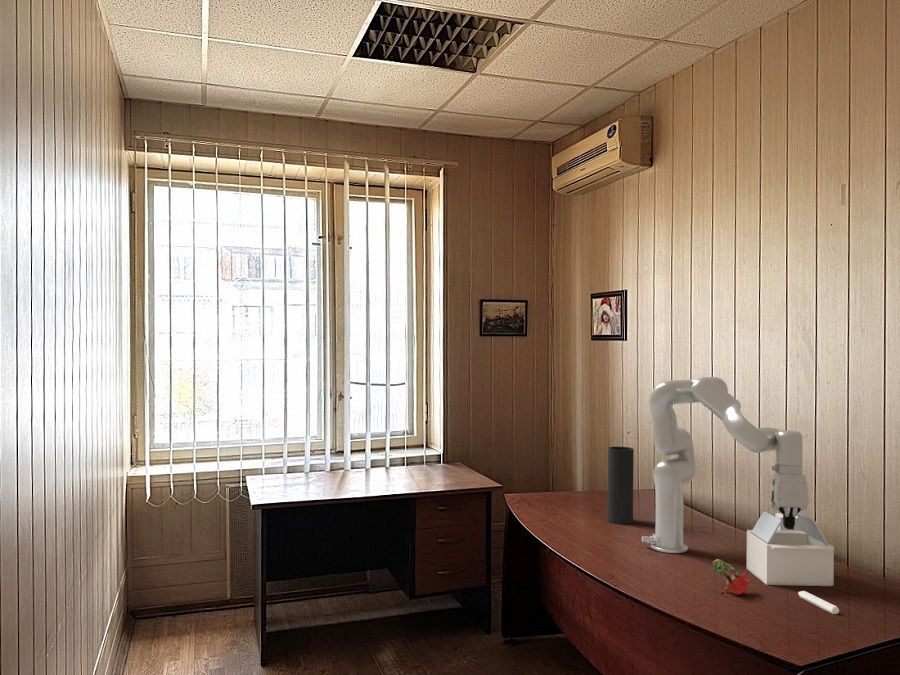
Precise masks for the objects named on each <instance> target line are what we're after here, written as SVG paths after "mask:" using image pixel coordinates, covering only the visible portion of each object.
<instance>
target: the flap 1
mask: <svg viewBox="0 0 900 675" xmlns="http://www.w3.org/2000/svg"><path fill="white" fill-rule="evenodd" d="M781 523H782V521H781V520H779V519H778V518H776V517H775V515H772V514H771V513H769V512H767V511H765V510H763V512H762V513H761V514H760V517H759V519H758V520H757V522H756V523H755V525H754V526H753V529H751V530H752V533H753V534H755V535H756V536H758V537H760V538H761V539H763V540H764V541H766V542H767V543H770V541H771V539H772V538H773V536H774V534H775V533H776V531H777V529H778V528H779V526H780V524H781Z"/></svg>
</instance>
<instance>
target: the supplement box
mask: <svg viewBox="0 0 900 675" xmlns="http://www.w3.org/2000/svg"><path fill="white" fill-rule="evenodd" d="M774 517H776V518H778V519H779V520H781V521H782V523H781V524H780V526H779V528H778V529H777V530H785V531H803V530H802V529H803V525H802V524H801V522H800V520H799V518H798V517H797V516H796V517H795V526H794V529H793V530H792V529H787V528H785V527H784V525H783V514H782V513H781V512H780V513H779V512H778V513H777V512H775V515H774Z"/></svg>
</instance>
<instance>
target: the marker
mask: <svg viewBox="0 0 900 675" xmlns="http://www.w3.org/2000/svg"><path fill="white" fill-rule="evenodd" d="M796 593H797V594H798V596H799V598H801V599H803V600H805V601H807V602H808V603H810V604H813V605H814V606H816V607H818V608H821V609H822V610H824V611H827V613H828V612H829V613H830V614H832V615H837V614H839V612H840V608H838V606H837V605H834V604H832V603H830V602H828V601H826V600H824V599H822V598H820V597H817V596H816V595H814V594H812V593H809V592H808V591H805V590H801V591H796Z"/></svg>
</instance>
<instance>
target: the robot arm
mask: <svg viewBox="0 0 900 675" xmlns="http://www.w3.org/2000/svg"><path fill="white" fill-rule="evenodd" d="M728 388H729V387H728V385H727V383H726V382H725V381H724V380H723V379H722V378H721V377H718V376H704V377H700V378H695V379H693V378H692V379H674V380H671V379H670V380H665V381H663V382H661V383H659V384H657V385H656V386H655V387H654V388H653V389H652V391H651V393H650V396H649V407H650V413H651V420H652V433H653V444H654V448H655V450H656V453H658V454H659V455H661V456H666V457H667V456H669V457H670V458H668V459H663V460H661V461H659V462H658V463H657V464H656V465H655V467H654V468H653V473H652V476H653V484H654V489H655V518H654V519H655V533H652V535H650V536H647V535H646V536H645V535H644V536H643V535H642V536H641V542H643V543H646V544H650V548H651V549H652V550H655V551H658V552H662V553H668V554H669V553H670V554H680V553H685V552H687V551H688V550H689V549H688V546H687V544H684V495H683V491H682V487H681V485H686V484H689V483H690V482H691V481H693V480H694V479H695V476H696V473H697V472H696V470H697V469H696V468H697V467H696V457H695V456H696V455H695V449H694V441H693V438H692V436H691V434H690V433H689V432H688V431H687V429H685V428H683V427H678V422H677V421H678V420H677V415H676V412H675V411H674V407H673V406H674V405H682V404H683V405H684V404H693V403H700V404H701V405H702V406H704V407H705V408H706V409H707V410H708V411H710V412H711V413H712V414H714V415H715V416H716V417H717V418H719V420H720V421H722V424H723V425H724V427H725V429H726V430H727V432H728V433H729V434H730V436H731V437H732V438H733V439H734V440H736V442H738V443H739V444H740V445H742V447H744V448H745V449H747V450H748V451H751V452H752V453H757V454H761V453H766V452H772V451H775V453H776V454H775V465H772V466H771V470H772V471H775V473H773V476H772V482H771V489H770V491H771V492H770V502H771V506H770V508H771V509H773V510H774V511H778V512H780V513H782V514H783V525H784V527H785V528H787V529H792V530H793V529H794V526H795V517H796V516H797V514H798V513H800V512H803V511H807V509H808V506H809V499H810V498H809V488H808V482H807V477H806V475H805V474H803V441H804V440H803V439H804V438H803V434H802V433H801V432H800V431H798V430H792V429H791V430H790V429H786V430H785V429H778V428H774V427H768V426H767V427H760V428H757V427H756V426H755V425H753V424H752V423H751V422H750V421H749V420H748V419H746V418H745V416H744V415H743V413H742V412H741V408H742V405H741V404H742V403H741V401H739V400H738V399H737V398H735V396H733V395H732V394H730V393H729V392H728V390H729V389H728Z"/></svg>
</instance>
